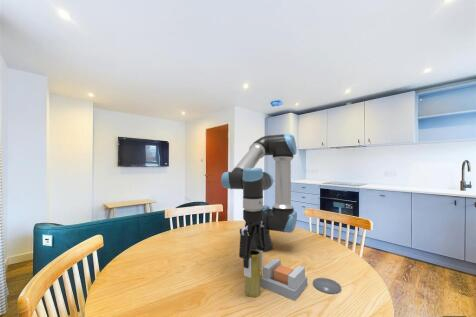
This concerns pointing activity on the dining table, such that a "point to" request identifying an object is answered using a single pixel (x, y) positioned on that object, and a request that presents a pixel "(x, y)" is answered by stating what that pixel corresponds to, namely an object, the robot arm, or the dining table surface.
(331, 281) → the coaster
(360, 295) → the dining table surface
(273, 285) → the grey cradle holder
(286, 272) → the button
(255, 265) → the vase
